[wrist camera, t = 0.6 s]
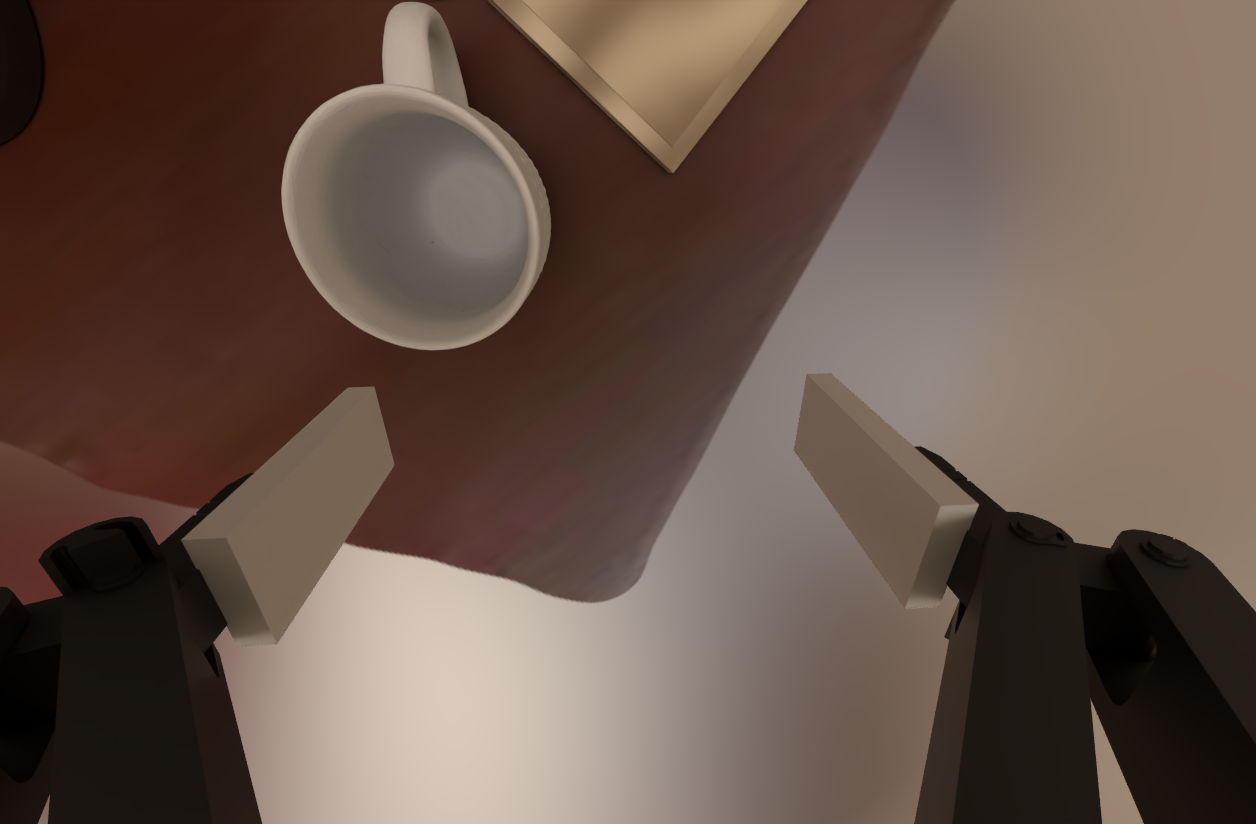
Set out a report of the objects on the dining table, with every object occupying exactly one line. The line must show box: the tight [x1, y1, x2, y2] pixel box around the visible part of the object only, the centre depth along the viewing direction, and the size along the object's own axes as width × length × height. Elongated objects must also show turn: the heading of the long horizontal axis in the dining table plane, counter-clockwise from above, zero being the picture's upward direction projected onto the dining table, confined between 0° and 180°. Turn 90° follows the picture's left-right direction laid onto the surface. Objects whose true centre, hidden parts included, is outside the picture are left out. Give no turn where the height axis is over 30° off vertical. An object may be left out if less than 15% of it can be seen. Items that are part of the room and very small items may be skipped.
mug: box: [281, 2, 551, 350], centre depth 26 cm, size 15×11×13 cm
